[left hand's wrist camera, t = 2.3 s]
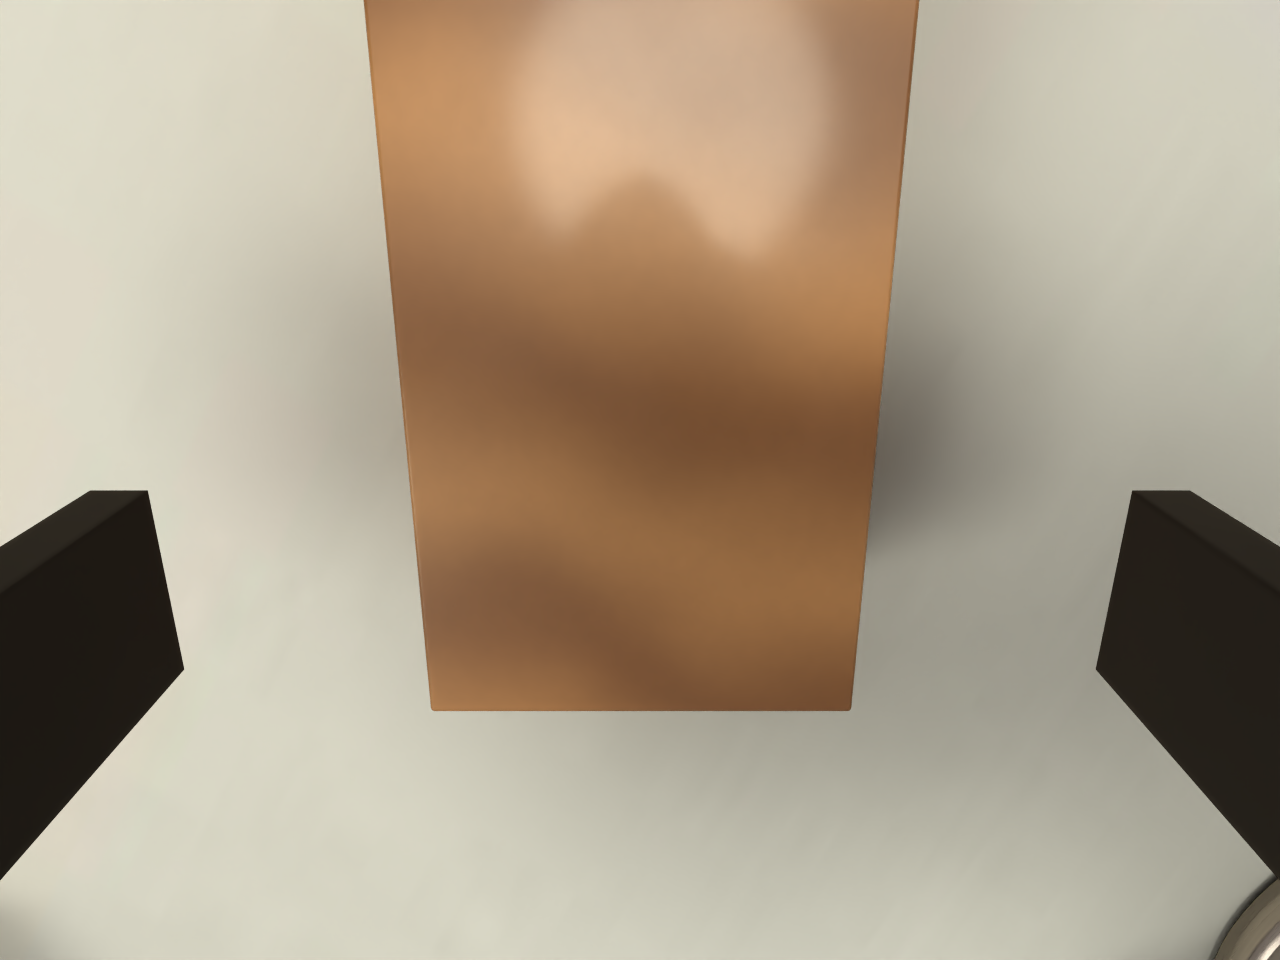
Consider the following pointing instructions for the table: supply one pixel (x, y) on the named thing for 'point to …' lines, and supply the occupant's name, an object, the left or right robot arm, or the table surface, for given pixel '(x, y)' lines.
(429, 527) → the thick board
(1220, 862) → the table surface
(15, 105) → the table surface
